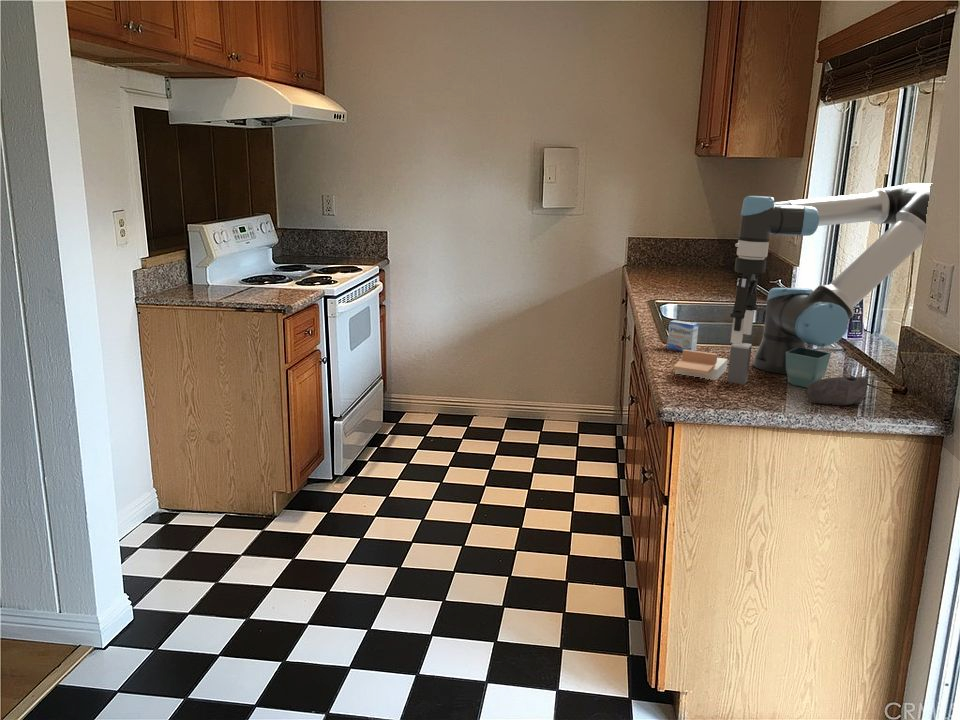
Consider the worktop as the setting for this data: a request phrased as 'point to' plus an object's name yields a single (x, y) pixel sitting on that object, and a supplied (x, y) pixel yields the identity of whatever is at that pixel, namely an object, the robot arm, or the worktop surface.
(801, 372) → the flower pot
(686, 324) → the medicine box
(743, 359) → the plug
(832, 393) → the perforated stone tool
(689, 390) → the worktop surface
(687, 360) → the shutter
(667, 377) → the worktop surface
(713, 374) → the socket housing
